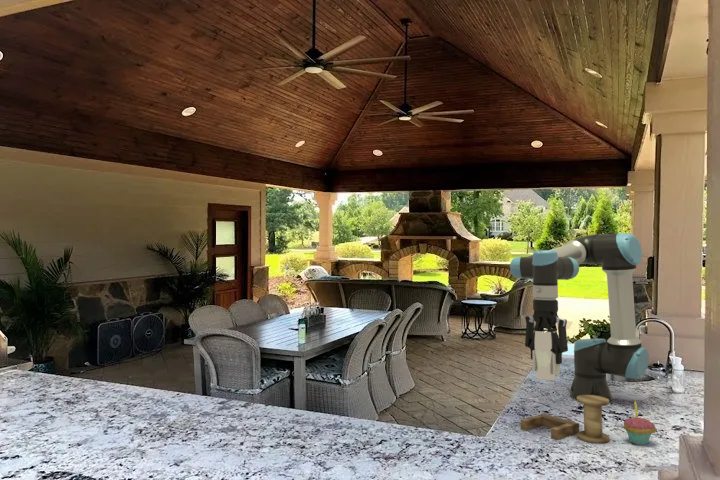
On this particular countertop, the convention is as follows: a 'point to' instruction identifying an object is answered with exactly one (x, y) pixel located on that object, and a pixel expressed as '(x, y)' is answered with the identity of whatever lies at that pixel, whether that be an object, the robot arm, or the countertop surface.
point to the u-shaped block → (551, 425)
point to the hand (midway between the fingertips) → (546, 372)
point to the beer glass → (544, 355)
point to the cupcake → (639, 428)
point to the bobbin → (593, 419)
